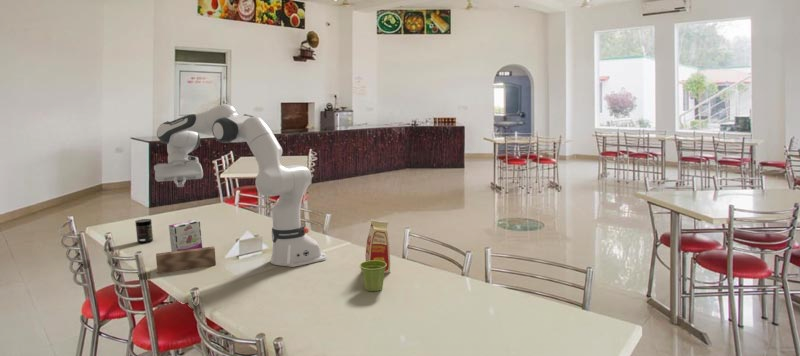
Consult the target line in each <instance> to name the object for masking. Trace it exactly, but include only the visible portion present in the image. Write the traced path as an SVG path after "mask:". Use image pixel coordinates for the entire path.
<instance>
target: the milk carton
mask: <svg viewBox="0 0 800 356" xmlns="http://www.w3.org/2000/svg"><path fill="white" fill-rule="evenodd" d="M370 222H371V224H370V228H369V231H368V235H367V239H366V246H365V261H372V260H378V261H383V262H385V263H386V264H387V266H386V267H385V271H384V274H388V273H391V252H390V242H389V236H388V235H389V234H388V225H389V223H390V222H389V221H378V220H374V219H370Z"/></svg>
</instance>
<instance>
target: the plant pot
mask: <svg viewBox="0 0 800 356" xmlns="http://www.w3.org/2000/svg"><path fill="white" fill-rule="evenodd" d="M358 266H359V268H360V271H361V272H362V273H361V274H362V279H363V286H364V288H365V289H364V290H365V291H368V292H373V291H375V292H379V291H381V290H383V287H384V280H385V279H384V278H385V273H384V271H385V267H386V266H387V264H386V263H385V262H383V261H378V260H372V261H366V260H365V261H362V262H361V263H359V265H358Z"/></svg>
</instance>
